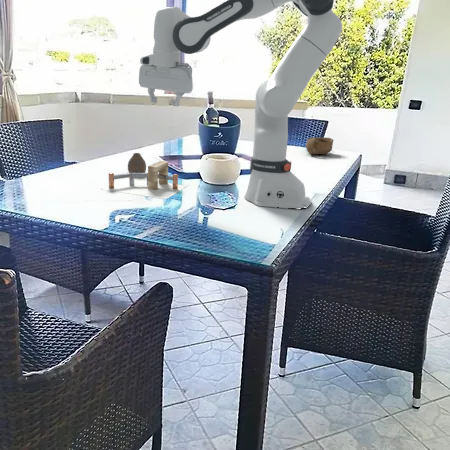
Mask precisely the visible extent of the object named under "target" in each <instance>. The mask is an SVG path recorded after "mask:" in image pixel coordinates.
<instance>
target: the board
mask: <svg viewBox="0 0 450 450" xmlns="http://www.w3.org/2000/svg"><path fill="white" fill-rule="evenodd" d="M187 187H188V185H186V184H185V185H184V184H179V183H178V189H173V182H172V183H170V182H168V184H159V180H158V189H157V190H152V189H148V185H147V179H144V178H139V177H134V185H130V184H129V178H122V179H120V180H118V181H116V182H114V188H113V189H110V188H109V185H107V186H104V187H102V188H101V190H104V191H110V192H116V193H123V194H130V195H136V196H137V195H138V196H142V197H147V198H155V199H156V198H157V199H163V200H167V199H169V198H170V197H172V196H174V195H175V194H178V193H179V192H181V191H183V190H184V189H186V188H187Z"/></svg>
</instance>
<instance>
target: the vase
mask: <svg viewBox="0 0 450 450" xmlns="http://www.w3.org/2000/svg"><path fill="white" fill-rule="evenodd" d="M146 170H147V163H146V161H145V159H144V158H143V157H142V154H141V153H140V152H134V153H133V154H132V156H131V157H130V159H129V160H128V162H127V171H128V172H127V173H147V172H146Z"/></svg>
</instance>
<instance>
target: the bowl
mask: <svg viewBox="0 0 450 450" xmlns="http://www.w3.org/2000/svg"><path fill="white" fill-rule="evenodd" d="M333 144H334V138H331V137H321V136H319V137H315V136H314V137H309V138H307V139H306V143H305V148H306V150H307V152H308V153H309V154H310V155H318V154H322V155H326V154H328V153H330V152H331V151H332V150H333Z"/></svg>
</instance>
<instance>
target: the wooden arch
mask: <svg viewBox="0 0 450 450" xmlns="http://www.w3.org/2000/svg"><path fill="white" fill-rule="evenodd" d="M147 173H148V189H152V190H157V189H158V181H159V184H168V183H169V180H166V179H159V178H158V174H161V175H168V176H169V161H167V160H166V161H164V160H159V161H157V162H154V163H153V164H150V165H148V166H147Z"/></svg>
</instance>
